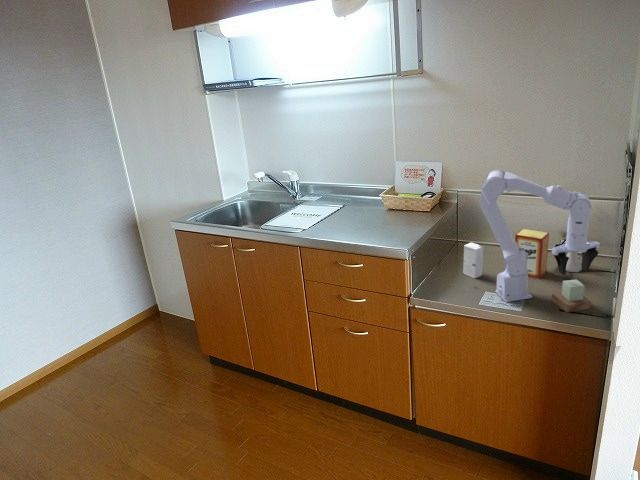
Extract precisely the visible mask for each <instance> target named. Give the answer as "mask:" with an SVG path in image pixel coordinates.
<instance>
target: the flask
mask: <svg viewBox="0 0 640 480" xmlns="http://www.w3.org/2000/svg"><path fill="white" fill-rule="evenodd" d="M566 256H567V257H569V259H568V262H567V265H566V272H568V273H578V272H581V271H583V269H582V264H581V262H580V259H579V258H580V257H579V255H578V252H569V253H566Z"/></svg>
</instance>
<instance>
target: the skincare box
mask: <svg viewBox="0 0 640 480" xmlns="http://www.w3.org/2000/svg"><path fill="white" fill-rule="evenodd" d="M483 261H484V246H483V245H480V244H477V243H474V242H469V243H467V244H464V246H463V267H462V270H463V271H462V274H464V275H465V276H468V277H470V278H472V279H477V278H479V277H481V276H482V275H483V265H484V262H483Z"/></svg>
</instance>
